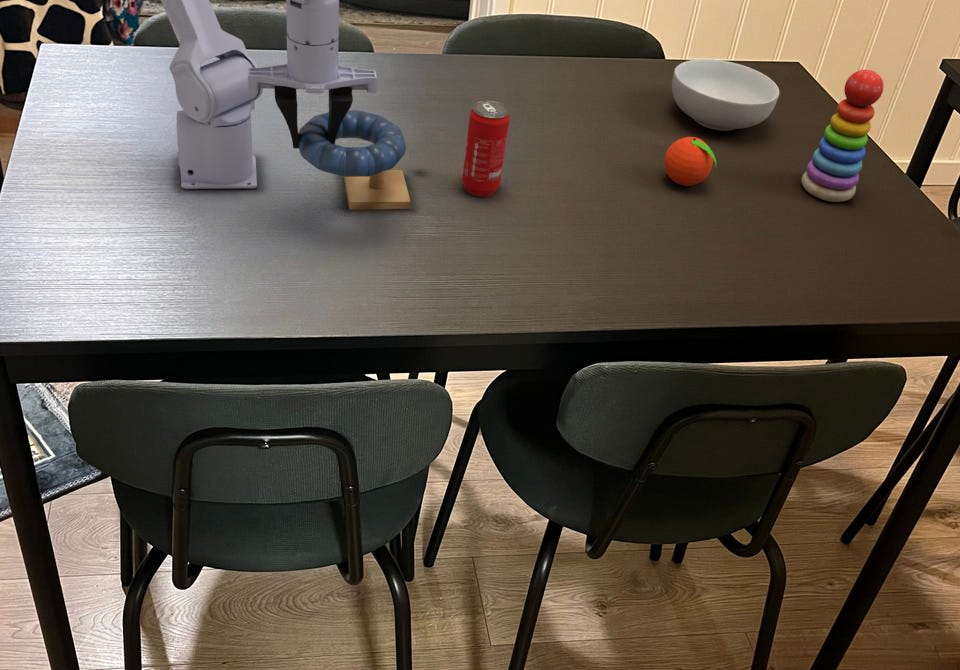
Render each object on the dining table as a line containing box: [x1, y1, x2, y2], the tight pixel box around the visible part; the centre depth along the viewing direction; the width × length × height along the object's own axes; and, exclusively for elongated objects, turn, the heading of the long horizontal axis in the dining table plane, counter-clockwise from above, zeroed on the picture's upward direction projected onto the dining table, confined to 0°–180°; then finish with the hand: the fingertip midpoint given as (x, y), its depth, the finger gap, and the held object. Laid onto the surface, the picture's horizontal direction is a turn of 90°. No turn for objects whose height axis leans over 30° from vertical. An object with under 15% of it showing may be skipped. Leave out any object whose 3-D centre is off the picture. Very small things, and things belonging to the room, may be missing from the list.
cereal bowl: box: [671, 58, 780, 132], centre depth 155 cm, size 17×17×7 cm
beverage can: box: [461, 100, 511, 198], centre depth 128 cm, size 5×5×12 cm
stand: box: [342, 142, 411, 211], centre depth 126 cm, size 8×8×7 cm
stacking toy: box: [801, 69, 884, 203], centre depth 137 cm, size 8×8×19 cm
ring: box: [298, 109, 407, 178], centre depth 116 cm, size 13×13×3 cm
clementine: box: [663, 136, 717, 187], centre depth 138 cm, size 8×7×7 cm
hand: (313, 144), depth 115 cm, fingers closed on ring, 3 cm apart
